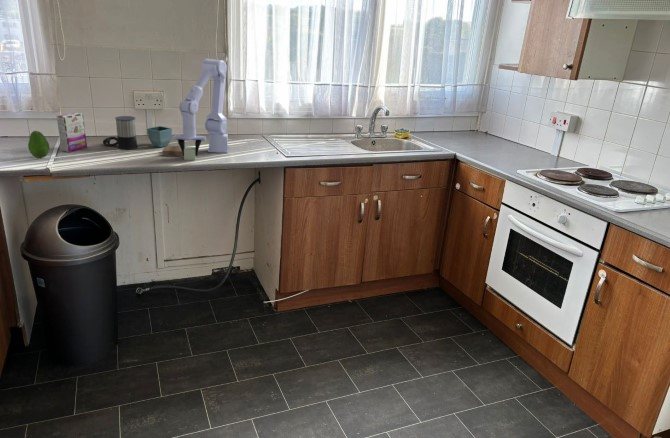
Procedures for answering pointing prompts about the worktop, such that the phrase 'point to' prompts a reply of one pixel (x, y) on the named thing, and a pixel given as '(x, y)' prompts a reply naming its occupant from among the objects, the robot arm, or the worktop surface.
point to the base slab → (172, 151)
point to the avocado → (38, 144)
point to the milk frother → (124, 133)
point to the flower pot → (159, 136)
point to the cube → (189, 153)
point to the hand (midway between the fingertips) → (190, 155)
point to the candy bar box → (72, 132)
